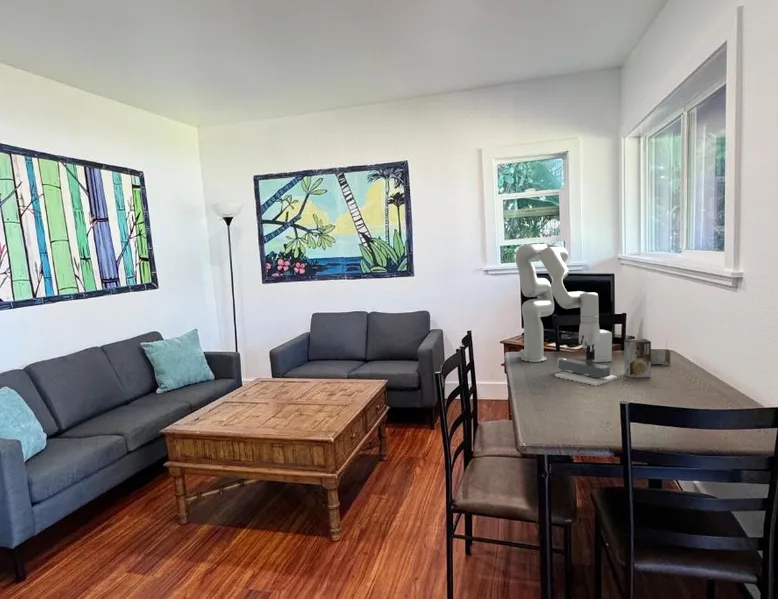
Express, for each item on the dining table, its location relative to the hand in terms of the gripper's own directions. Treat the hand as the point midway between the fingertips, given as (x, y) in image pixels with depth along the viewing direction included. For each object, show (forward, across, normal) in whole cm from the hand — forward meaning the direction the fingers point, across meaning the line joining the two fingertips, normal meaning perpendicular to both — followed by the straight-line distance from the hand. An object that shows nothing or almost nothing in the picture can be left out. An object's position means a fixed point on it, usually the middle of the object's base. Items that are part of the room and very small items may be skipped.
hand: (590, 359), depth 216 cm
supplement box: (+7, -26, -12) cm, 29 cm away
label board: (+7, +7, +1) cm, 10 cm away
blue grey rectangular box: (+8, -36, +11) cm, 39 cm away
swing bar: (+4, +7, 0) cm, 9 cm away
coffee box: (+7, -12, +15) cm, 20 cm away
